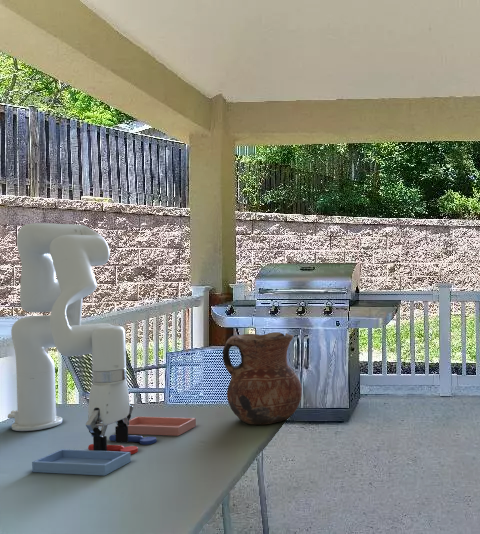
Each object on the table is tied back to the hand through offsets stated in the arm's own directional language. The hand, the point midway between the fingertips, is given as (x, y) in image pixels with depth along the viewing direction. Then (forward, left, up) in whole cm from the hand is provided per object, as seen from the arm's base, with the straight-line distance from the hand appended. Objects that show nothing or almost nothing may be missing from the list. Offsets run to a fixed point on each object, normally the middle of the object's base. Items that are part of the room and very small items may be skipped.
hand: (111, 446), depth 150 cm
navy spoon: (0, +8, -1) cm, 8 cm away
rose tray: (0, +19, -1) cm, 19 cm away
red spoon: (0, 0, -1) cm, 1 cm away
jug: (+26, +33, -1) cm, 42 cm away
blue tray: (0, -11, -1) cm, 11 cm away
